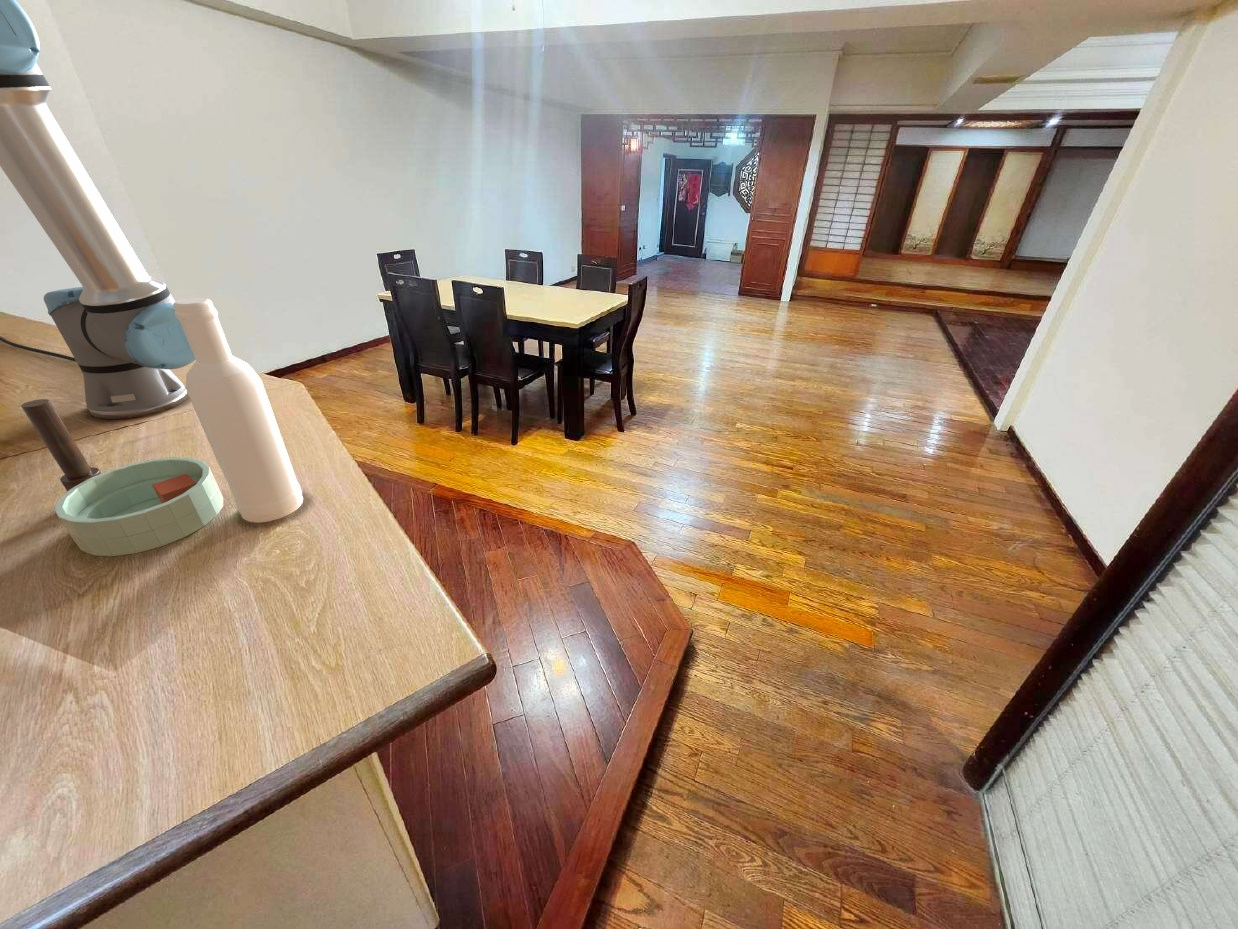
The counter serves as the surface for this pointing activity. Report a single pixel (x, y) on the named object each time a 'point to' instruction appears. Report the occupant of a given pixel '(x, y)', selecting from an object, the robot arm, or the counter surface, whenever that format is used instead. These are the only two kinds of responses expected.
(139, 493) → the bowl
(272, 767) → the counter surface
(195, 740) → the counter surface
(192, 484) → the block
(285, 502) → the bottle
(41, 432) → the pestle
